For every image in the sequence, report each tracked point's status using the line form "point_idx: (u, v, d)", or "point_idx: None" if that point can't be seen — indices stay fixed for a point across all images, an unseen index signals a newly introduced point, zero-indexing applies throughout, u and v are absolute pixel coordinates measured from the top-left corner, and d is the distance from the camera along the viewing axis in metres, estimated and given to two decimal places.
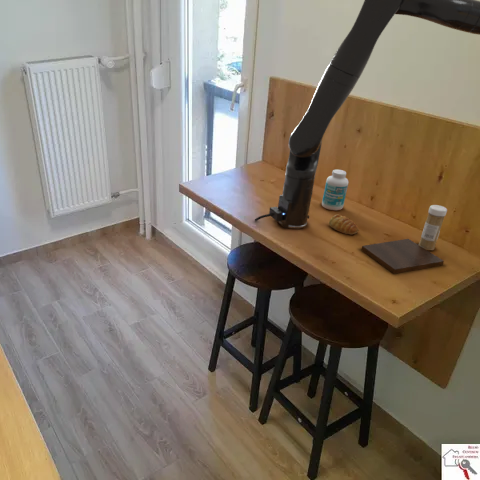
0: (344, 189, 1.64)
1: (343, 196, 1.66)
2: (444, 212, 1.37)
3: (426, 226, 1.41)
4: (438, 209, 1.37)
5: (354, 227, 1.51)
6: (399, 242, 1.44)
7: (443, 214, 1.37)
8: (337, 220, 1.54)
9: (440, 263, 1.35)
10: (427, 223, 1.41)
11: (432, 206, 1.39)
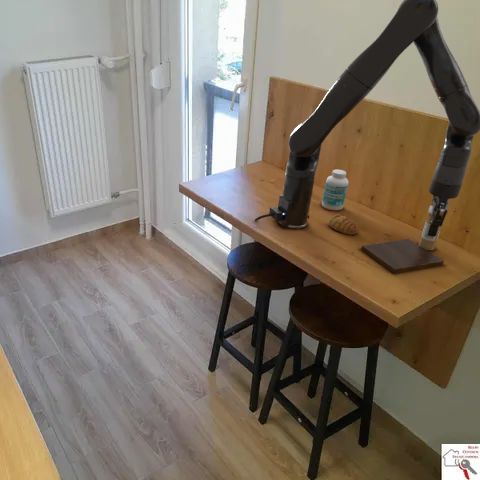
0: (344, 189, 1.64)
1: (343, 196, 1.66)
2: None
3: (426, 226, 1.41)
4: None
5: (354, 227, 1.51)
6: (399, 242, 1.44)
7: None
8: (337, 220, 1.54)
9: (440, 263, 1.35)
10: (427, 223, 1.41)
11: (432, 206, 1.39)
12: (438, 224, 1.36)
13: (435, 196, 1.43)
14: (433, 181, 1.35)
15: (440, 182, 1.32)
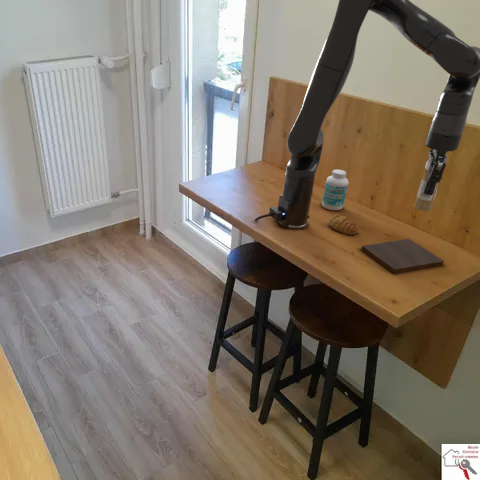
0: (344, 189, 1.64)
1: (343, 196, 1.66)
2: None
3: (422, 184, 1.29)
4: None
5: (354, 227, 1.51)
6: (399, 242, 1.44)
7: None
8: (337, 220, 1.54)
9: (440, 263, 1.35)
10: (423, 180, 1.28)
11: None
12: (435, 180, 1.24)
13: (432, 152, 1.31)
14: (430, 132, 1.23)
15: (438, 133, 1.20)
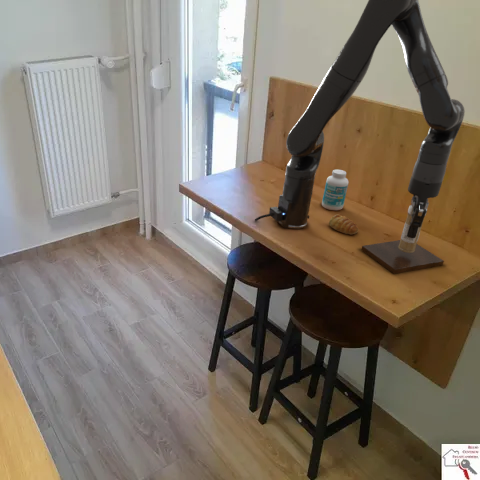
0: (344, 189, 1.64)
1: (343, 196, 1.66)
2: None
3: (405, 227, 1.33)
4: None
5: (354, 227, 1.51)
6: (399, 242, 1.44)
7: None
8: (337, 220, 1.54)
9: (440, 263, 1.35)
10: (406, 224, 1.33)
11: (411, 206, 1.31)
12: (417, 225, 1.28)
13: (415, 195, 1.35)
14: (412, 179, 1.27)
15: (419, 180, 1.25)
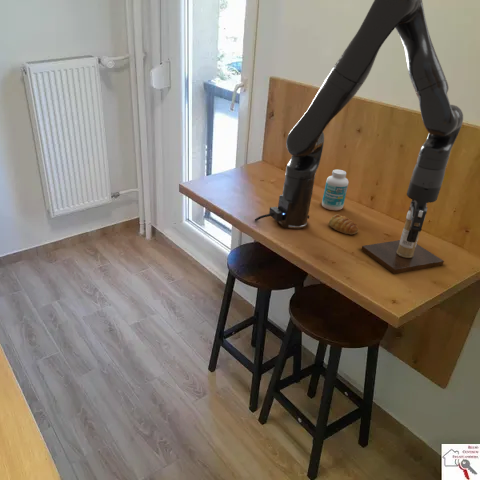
0: (344, 189, 1.64)
1: (343, 196, 1.66)
2: None
3: (404, 233, 1.34)
4: None
5: (354, 227, 1.51)
6: (399, 242, 1.44)
7: None
8: (337, 220, 1.54)
9: (440, 263, 1.35)
10: (405, 229, 1.33)
11: (410, 211, 1.32)
12: (417, 229, 1.26)
13: None
14: (411, 184, 1.28)
15: (418, 185, 1.25)
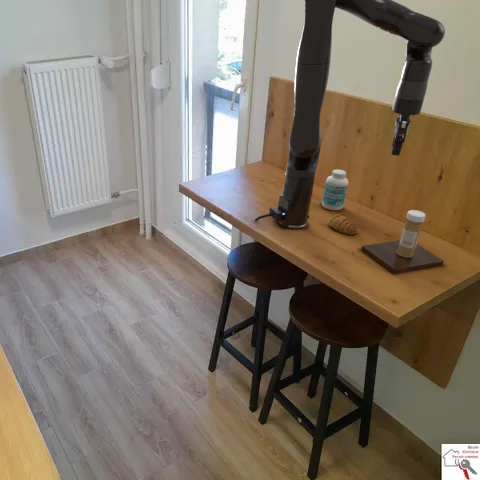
0: (344, 189, 1.64)
1: (343, 196, 1.66)
2: (422, 218, 1.30)
3: (404, 233, 1.34)
4: (416, 215, 1.30)
5: (354, 227, 1.51)
6: (399, 242, 1.44)
7: (421, 220, 1.30)
8: (337, 220, 1.54)
9: (440, 263, 1.35)
10: (405, 229, 1.33)
11: (410, 211, 1.32)
12: (401, 140, 1.34)
13: (400, 115, 1.43)
14: (395, 98, 1.35)
15: (402, 98, 1.33)
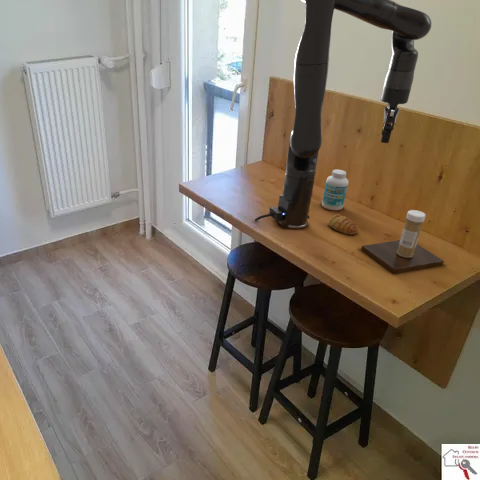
0: (344, 189, 1.64)
1: (343, 196, 1.66)
2: (422, 218, 1.30)
3: (404, 233, 1.34)
4: (416, 215, 1.30)
5: (354, 227, 1.51)
6: None
7: (421, 220, 1.30)
8: (337, 220, 1.54)
9: (440, 263, 1.35)
10: (405, 229, 1.33)
11: (410, 211, 1.32)
12: (390, 127, 1.41)
13: (389, 104, 1.49)
14: (384, 88, 1.42)
15: (390, 88, 1.39)
